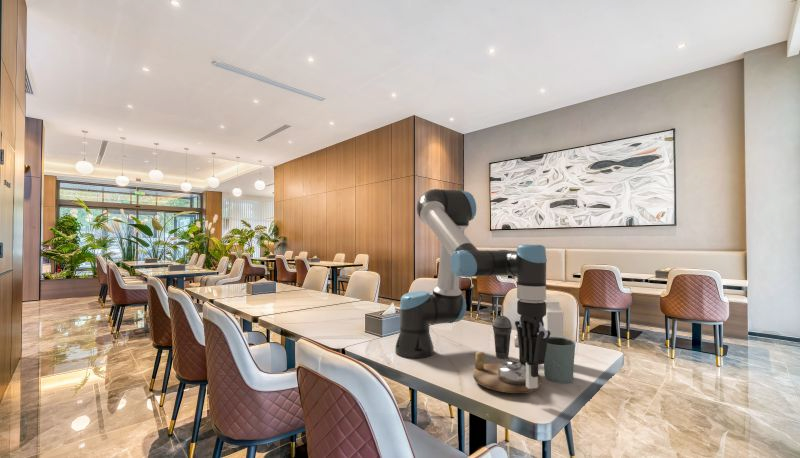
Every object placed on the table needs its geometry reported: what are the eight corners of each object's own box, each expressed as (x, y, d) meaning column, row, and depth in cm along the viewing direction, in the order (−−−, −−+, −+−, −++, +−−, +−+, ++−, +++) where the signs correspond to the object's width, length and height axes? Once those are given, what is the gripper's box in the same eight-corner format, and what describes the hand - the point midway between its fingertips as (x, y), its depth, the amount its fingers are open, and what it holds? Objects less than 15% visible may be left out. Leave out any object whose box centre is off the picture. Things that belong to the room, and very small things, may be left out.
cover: (494, 381, 104) (494, 363, 104) (502, 371, 111) (502, 355, 111) (526, 388, 99) (526, 369, 99) (532, 377, 107) (532, 360, 107)
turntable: (464, 383, 106) (464, 361, 106) (484, 363, 123) (484, 344, 123) (534, 399, 95) (534, 374, 96) (546, 375, 112) (546, 354, 113)
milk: (540, 359, 132) (539, 300, 133) (555, 359, 132) (555, 300, 133) (547, 365, 126) (547, 303, 127) (564, 365, 126) (563, 303, 127)
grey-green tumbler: (580, 378, 114) (580, 341, 114) (568, 387, 107) (567, 347, 108) (549, 370, 121) (549, 334, 122) (535, 377, 115) (535, 340, 115)
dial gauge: (508, 379, 113) (508, 335, 113) (517, 367, 123) (517, 327, 124) (524, 382, 110) (524, 337, 111) (532, 370, 121) (532, 329, 121)
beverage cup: (509, 354, 138) (509, 302, 138) (514, 360, 131) (514, 306, 131) (490, 353, 139) (491, 302, 139) (493, 359, 131) (494, 305, 132)
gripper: (559, 304, 92) (559, 396, 91) (529, 296, 104) (529, 377, 104) (533, 305, 90) (534, 398, 89) (506, 297, 103) (506, 379, 102)
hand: (531, 387), depth 97 cm, fingers closed
